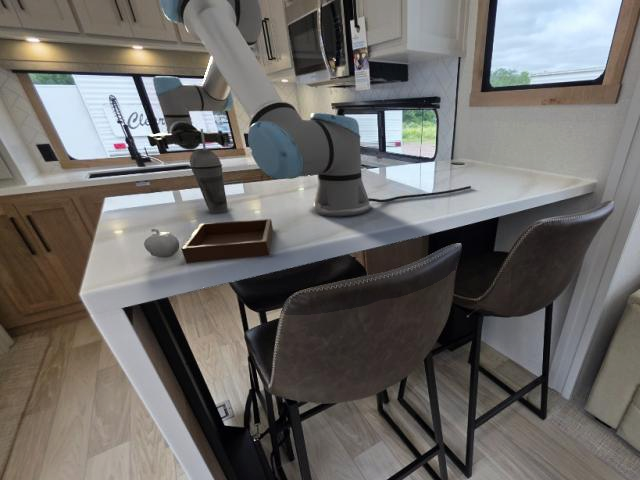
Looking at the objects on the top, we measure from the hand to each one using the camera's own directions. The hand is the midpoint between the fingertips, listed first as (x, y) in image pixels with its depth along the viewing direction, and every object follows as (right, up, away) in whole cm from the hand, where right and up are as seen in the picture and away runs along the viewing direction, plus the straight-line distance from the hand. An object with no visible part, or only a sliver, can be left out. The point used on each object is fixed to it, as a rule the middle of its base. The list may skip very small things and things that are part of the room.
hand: (195, 141), depth 88 cm
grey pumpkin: (+9, -34, -24) cm, 43 cm away
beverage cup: (+5, -18, +2) cm, 19 cm away
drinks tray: (+20, -31, -20) cm, 42 cm away
